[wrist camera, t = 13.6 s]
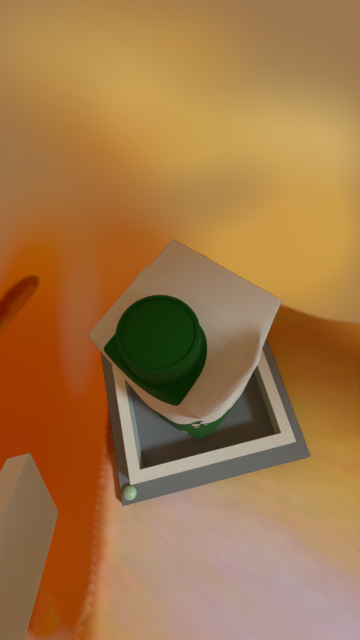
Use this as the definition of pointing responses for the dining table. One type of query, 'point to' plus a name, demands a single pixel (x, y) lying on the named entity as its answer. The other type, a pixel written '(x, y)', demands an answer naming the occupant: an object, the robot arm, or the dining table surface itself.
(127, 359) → the soya milk
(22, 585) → the robot arm
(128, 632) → the dining table surface
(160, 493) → the dock
